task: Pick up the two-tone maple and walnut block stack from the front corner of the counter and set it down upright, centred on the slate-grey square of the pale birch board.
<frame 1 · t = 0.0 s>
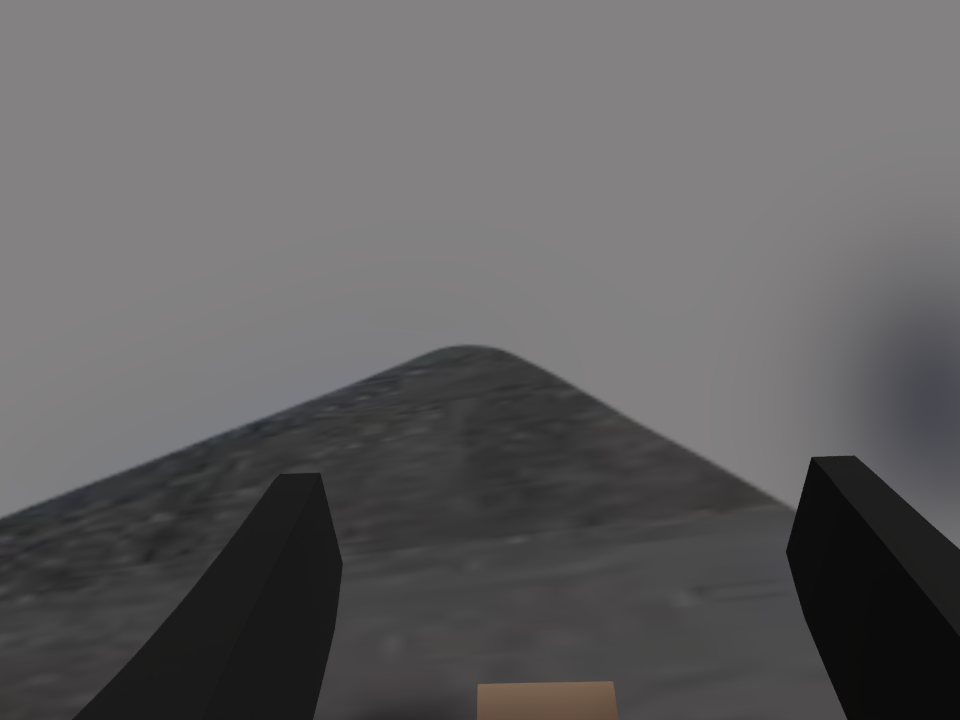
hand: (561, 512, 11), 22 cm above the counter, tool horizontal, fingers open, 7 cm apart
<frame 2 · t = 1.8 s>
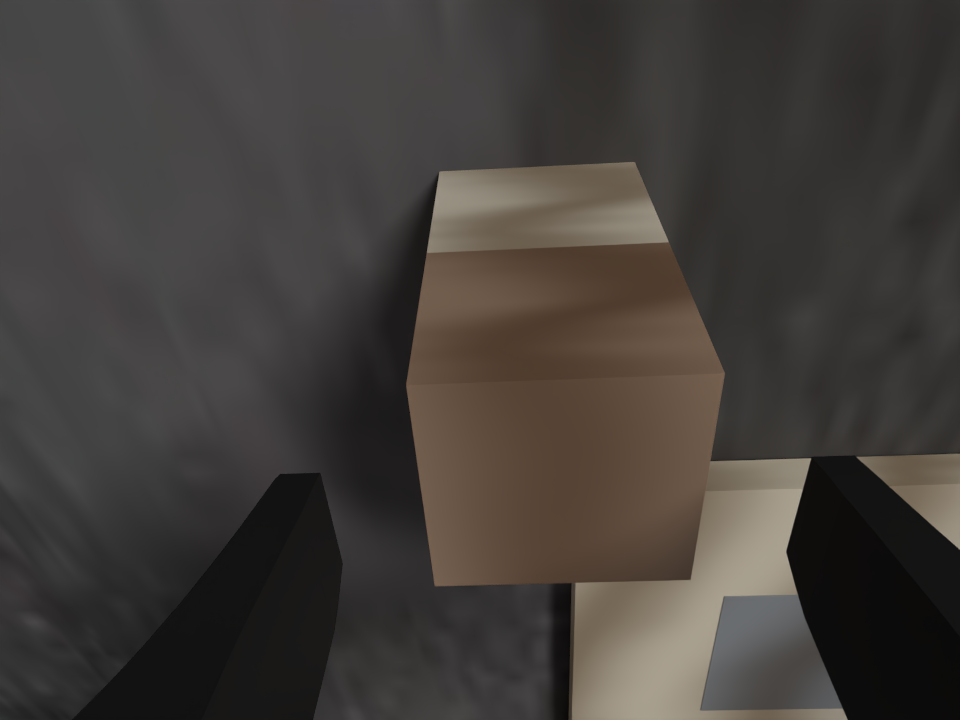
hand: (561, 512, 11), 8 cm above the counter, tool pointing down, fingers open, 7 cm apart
birch board: (797, 624, 26), on the counter
block stack: (537, 254, 18), on the counter
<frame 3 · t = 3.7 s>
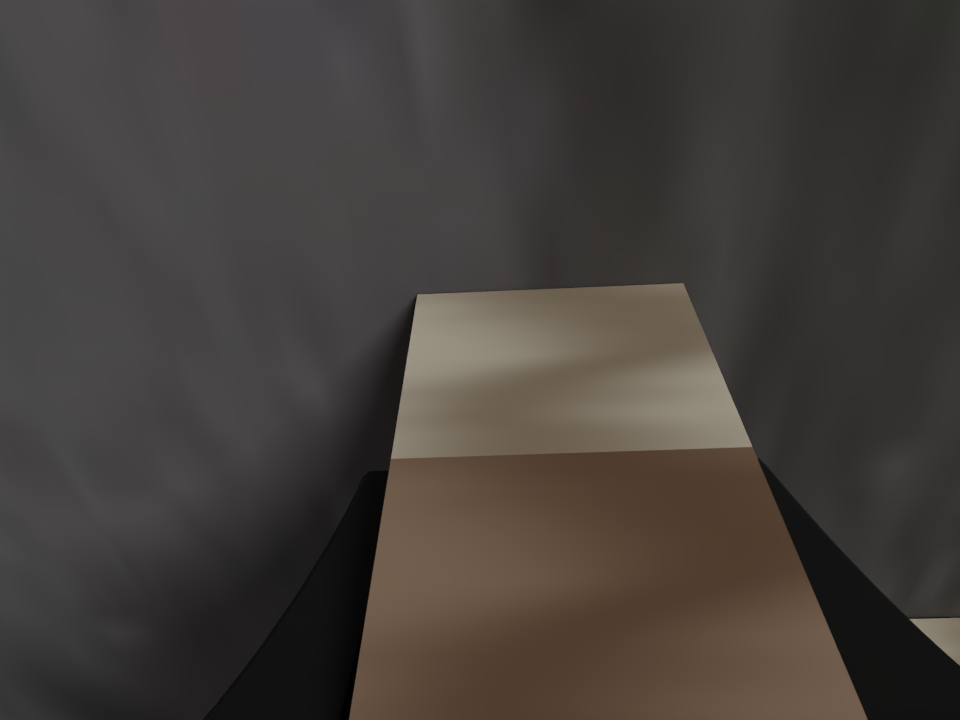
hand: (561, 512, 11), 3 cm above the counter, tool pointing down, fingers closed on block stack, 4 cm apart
block stack: (549, 393, 14), on the counter, touching gripper
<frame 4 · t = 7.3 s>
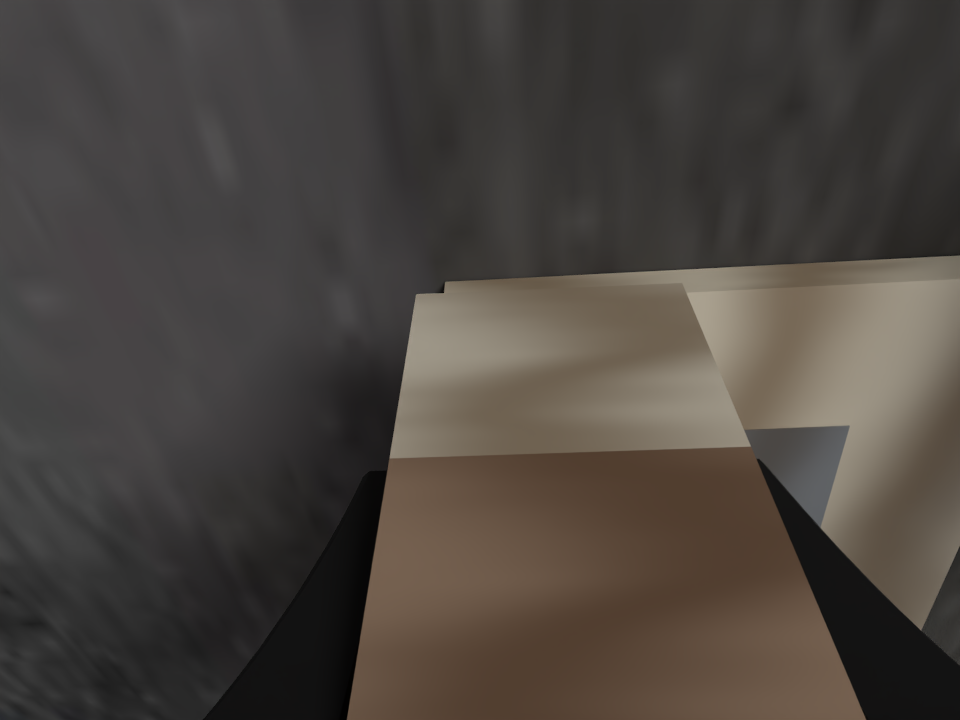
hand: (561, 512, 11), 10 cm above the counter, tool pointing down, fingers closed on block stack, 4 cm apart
birch board: (710, 482, 24), on the counter
block stack: (548, 393, 14), point 7 cm above the counter, touching gripper
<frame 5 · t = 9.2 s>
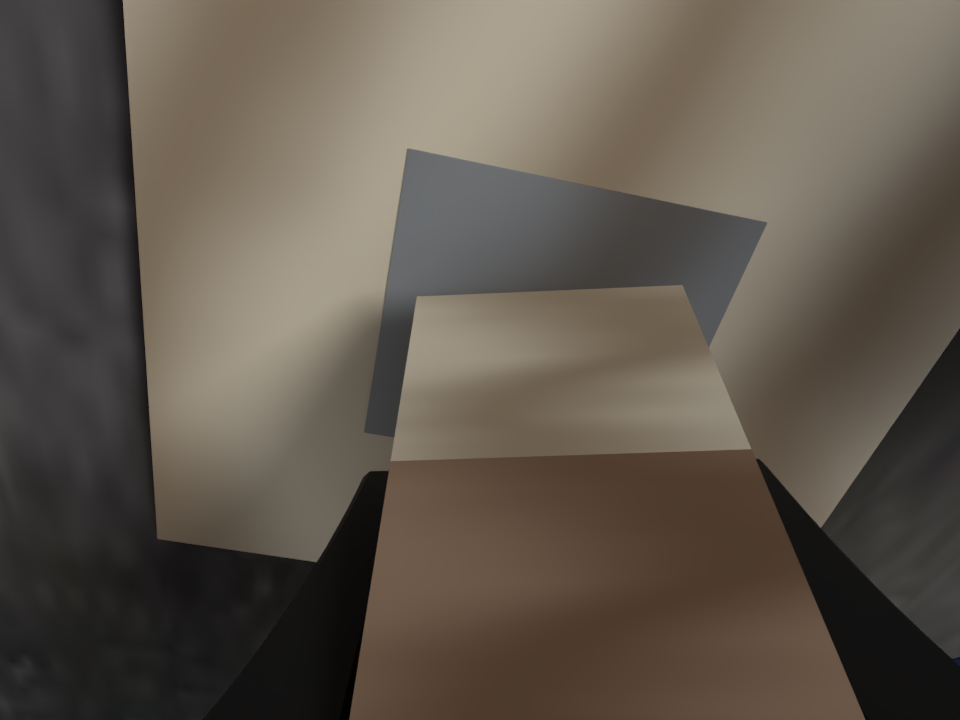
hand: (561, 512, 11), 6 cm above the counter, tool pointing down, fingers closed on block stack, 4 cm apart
birch board: (541, 306, 16), on the counter
block stack: (549, 395, 14), point 3 cm above the counter, touching gripper
when the fingers open (5 cm above the counter, at t = 10.8 s): block stack stays where it is, resting on birch board.
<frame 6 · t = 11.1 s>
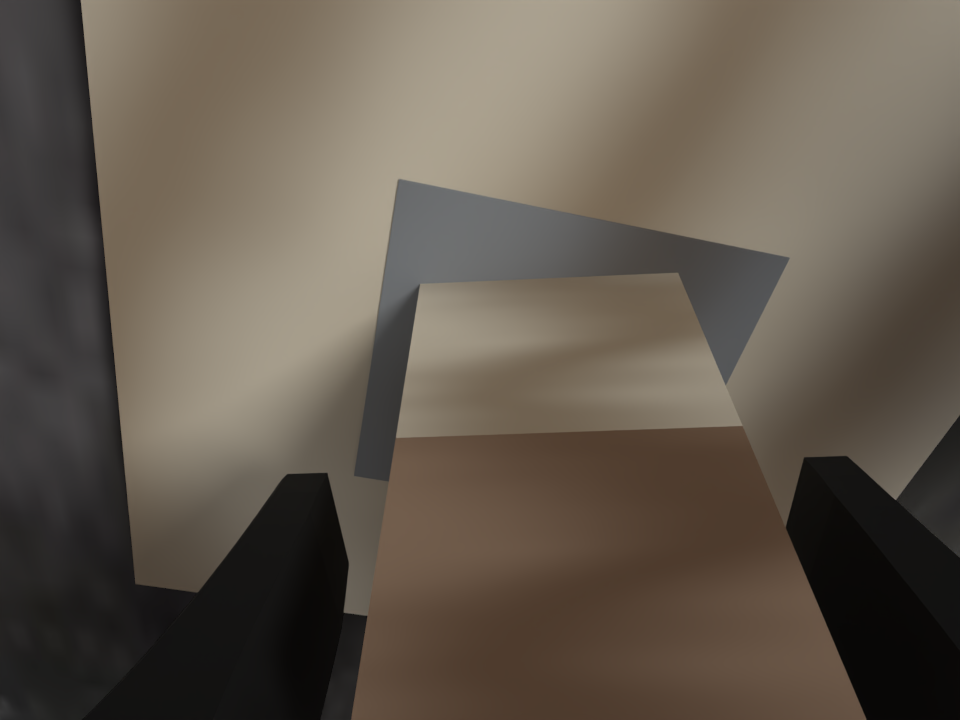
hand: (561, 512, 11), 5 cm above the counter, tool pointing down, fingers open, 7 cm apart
birch board: (544, 342, 15), on the counter
block stack: (548, 381, 14), point 1 cm above the counter, touching birch board
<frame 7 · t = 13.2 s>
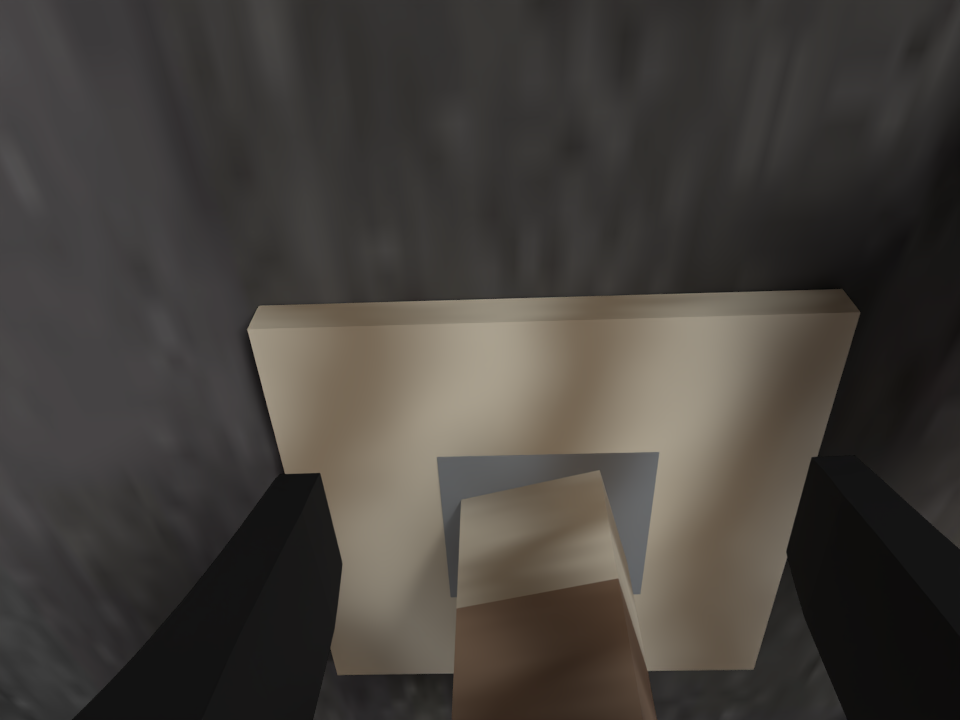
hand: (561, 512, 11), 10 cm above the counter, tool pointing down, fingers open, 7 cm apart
birch board: (544, 502, 25), on the counter
block stack: (546, 532, 24), point 1 cm above the counter, touching birch board
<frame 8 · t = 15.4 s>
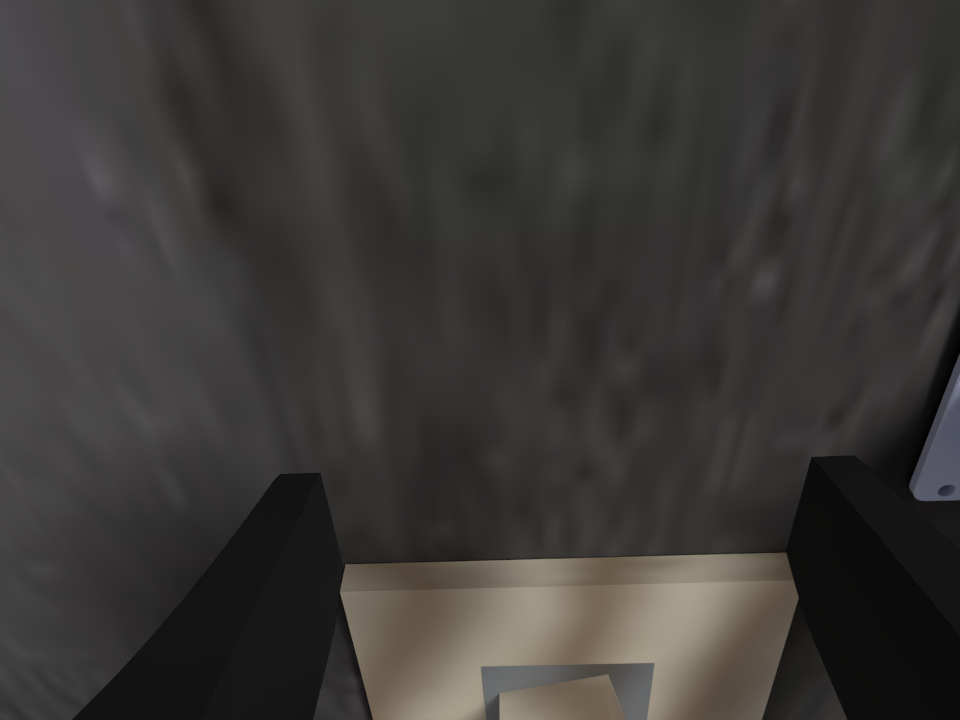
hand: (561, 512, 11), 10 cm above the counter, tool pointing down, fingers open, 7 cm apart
birch board: (564, 684, 31), on the counter
block stack: (567, 713, 30), point 1 cm above the counter, touching birch board
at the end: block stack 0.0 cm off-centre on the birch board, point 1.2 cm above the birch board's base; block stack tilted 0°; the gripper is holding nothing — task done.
